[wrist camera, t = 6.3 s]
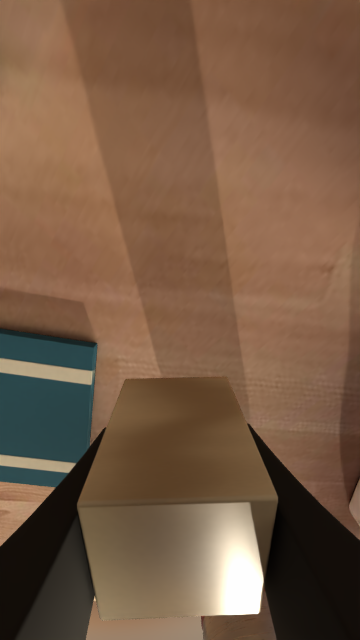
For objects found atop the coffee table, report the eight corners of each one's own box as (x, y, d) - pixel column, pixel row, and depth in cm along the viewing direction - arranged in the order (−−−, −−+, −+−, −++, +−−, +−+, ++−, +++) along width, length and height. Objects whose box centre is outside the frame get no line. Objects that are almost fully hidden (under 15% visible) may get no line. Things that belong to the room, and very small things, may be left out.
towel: (97, 343, 17) (93, 347, 16) (87, 481, 21) (83, 491, 20) (-15, 325, 16) (-25, 329, 15) (-4, 471, 20) (-11, 481, 19)
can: (268, 467, 20) (350, 655, 11) (250, 516, 22) (306, 713, 13) (199, 458, 20) (221, 647, 10) (186, 509, 22) (195, 709, 12)
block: (227, 375, 10) (280, 498, 5) (223, 455, 11) (261, 615, 6) (124, 378, 9) (74, 505, 5) (132, 458, 11) (98, 622, 6)
